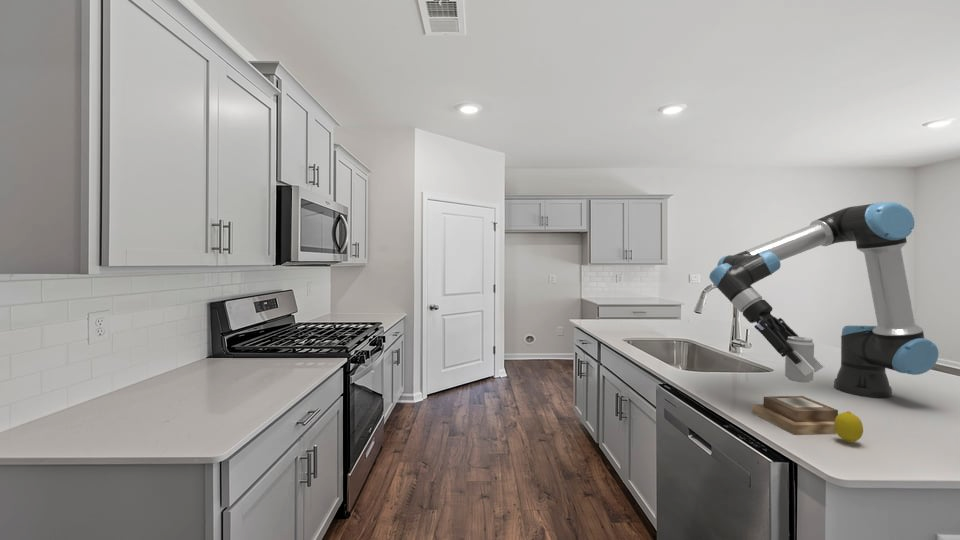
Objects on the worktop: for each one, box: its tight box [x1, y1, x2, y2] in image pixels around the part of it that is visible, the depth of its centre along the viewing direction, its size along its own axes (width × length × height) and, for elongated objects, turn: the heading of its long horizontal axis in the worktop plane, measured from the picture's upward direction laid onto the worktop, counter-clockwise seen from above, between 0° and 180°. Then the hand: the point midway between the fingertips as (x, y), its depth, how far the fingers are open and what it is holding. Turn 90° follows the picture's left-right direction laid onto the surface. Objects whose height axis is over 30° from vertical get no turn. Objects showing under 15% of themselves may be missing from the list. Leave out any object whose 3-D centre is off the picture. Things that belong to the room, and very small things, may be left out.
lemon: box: [834, 411, 864, 444], centre depth 108 cm, size 6×6×8 cm
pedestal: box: [751, 395, 839, 435], centre depth 122 cm, size 16×16×6 cm
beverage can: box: [784, 336, 815, 384], centre depth 121 cm, size 6×6×12 cm
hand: (814, 371), depth 118 cm, fingers closed on beverage can, 6 cm apart
